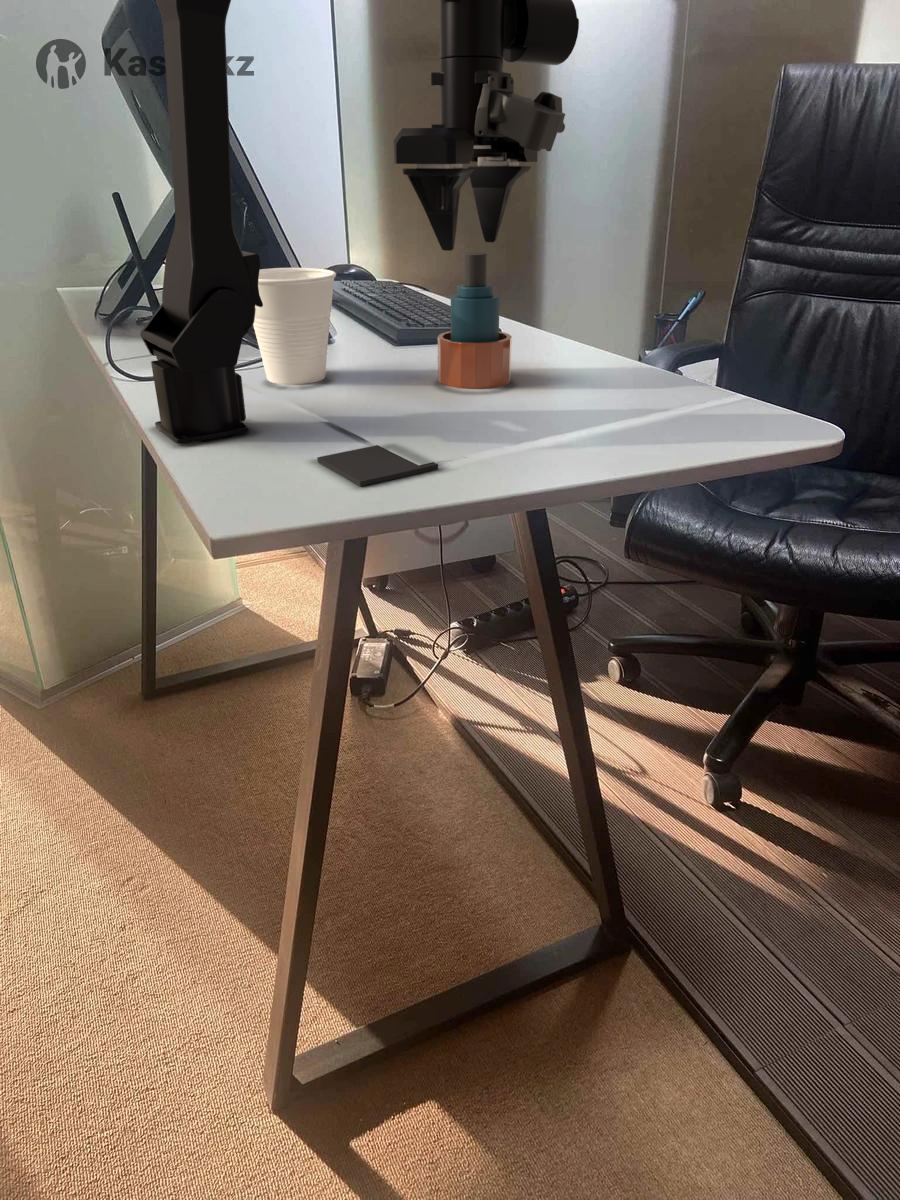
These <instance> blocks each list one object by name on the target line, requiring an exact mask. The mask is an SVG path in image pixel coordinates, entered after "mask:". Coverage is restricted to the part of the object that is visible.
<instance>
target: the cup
mask: <svg viewBox="0 0 900 1200" xmlns="http://www.w3.org/2000/svg"><path fill="white" fill-rule="evenodd" d="M336 277H337V272H335V271H334V270H330V269H325V268H316V267H273V268H262V269H261V268H260V271H259V279H258V289H259V295H260V298H261V300H262V303H263V306H262V307H258V306H255V309H256V311H255V320H254V324H253V330H254V334H255V337H256V340H257V344H258V349H259V353H260V357H261V359H262V364H263V368H264V372H265V377H266V380H267V381H268V382H270V383H273V384H279V385H307V384H312V383H317V382H320V381H322V380H324V379H325V378H326V372H327V371H326V370H327V359H328V358H327V357H328V346H329V336H330V325H331V324H330V322H331V312H332V304H333V294H334V293H333V292H334V283H335V278H336Z"/></svg>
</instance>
